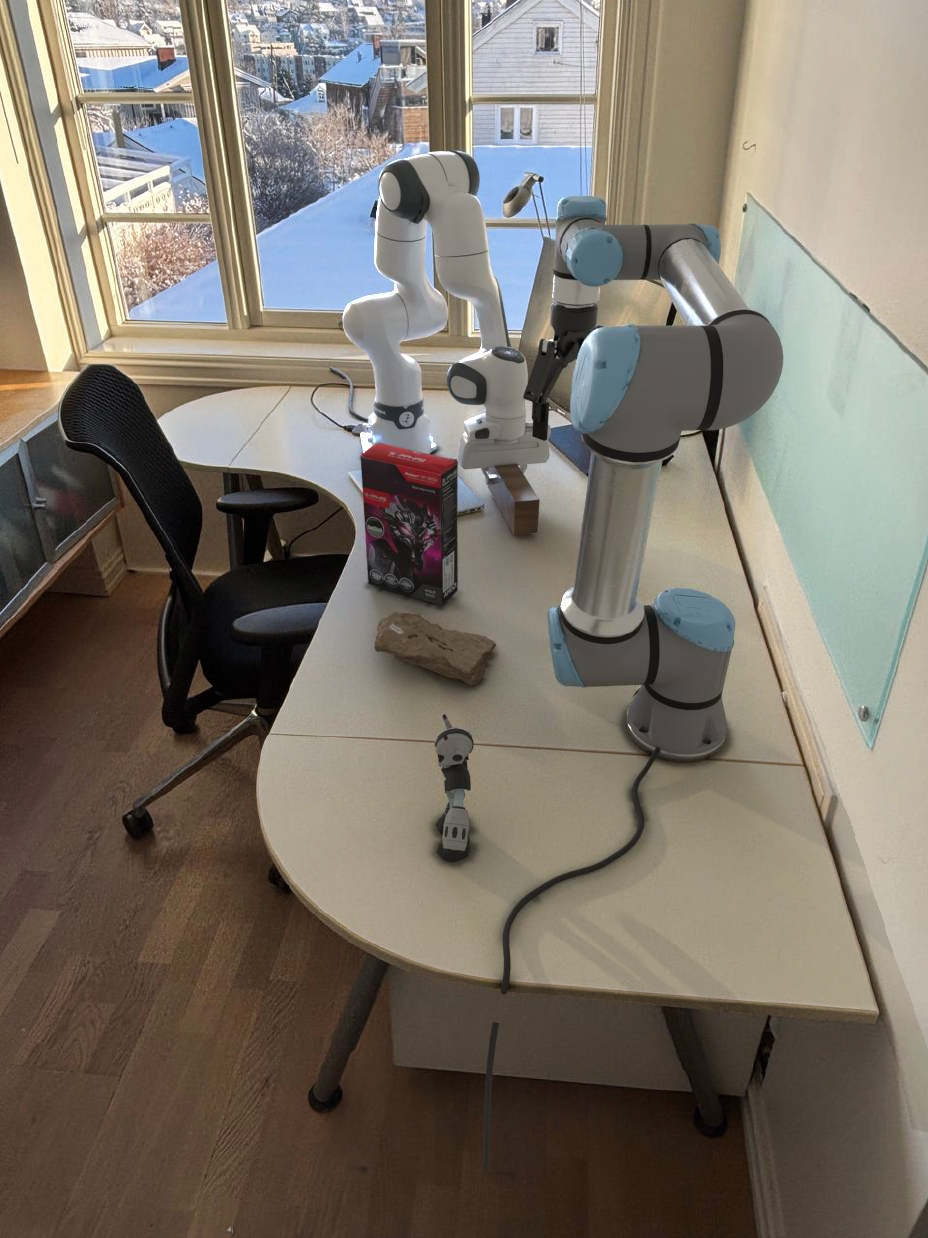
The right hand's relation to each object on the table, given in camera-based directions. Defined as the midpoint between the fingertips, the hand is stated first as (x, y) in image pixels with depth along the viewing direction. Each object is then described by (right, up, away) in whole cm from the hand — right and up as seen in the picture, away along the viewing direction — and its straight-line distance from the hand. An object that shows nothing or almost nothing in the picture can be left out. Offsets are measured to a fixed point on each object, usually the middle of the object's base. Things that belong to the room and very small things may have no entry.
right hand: (565, 427), depth 159 cm
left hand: (-9, -2, +48) cm, 49 cm away
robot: (-19, -63, -35) cm, 74 cm away
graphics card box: (-27, -27, +17) cm, 43 cm away
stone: (-23, -40, -2) cm, 47 cm away
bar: (-7, -9, +43) cm, 44 cm away
